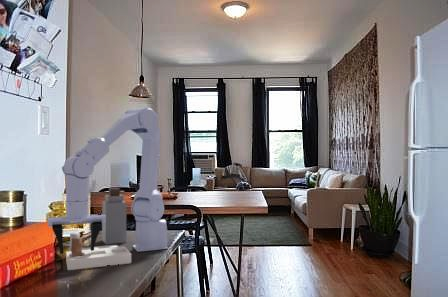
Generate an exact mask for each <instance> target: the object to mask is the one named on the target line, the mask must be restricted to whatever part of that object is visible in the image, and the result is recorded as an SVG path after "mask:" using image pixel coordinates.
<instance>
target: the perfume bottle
mask: <svg viewBox="0 0 448 297" xmlns="http://www.w3.org/2000/svg"><path fill="white" fill-rule="evenodd" d="M104 197H105V200H104V201H102V202H101V206H102V207H101V208H102V210H101V211H102V212H101V213H102V214H101V215H105V216H106V223H102V227H101V233H102V234H101V241H102V243H104V244H105V245H116V244H122V243H127V202H126V201H125V200H124V197H125V195H123V194H121V188H116V187H115V188H108V194H104Z"/></svg>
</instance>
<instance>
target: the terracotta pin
mask: <svg viewBox="0 0 448 297" xmlns="http://www.w3.org/2000/svg"><path fill="white" fill-rule="evenodd" d="M82 237H83V236H82ZM82 237H74V238H72V252H71V257H77V256H82V248H83V238H82Z"/></svg>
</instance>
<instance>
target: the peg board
mask: <svg viewBox="0 0 448 297" xmlns="http://www.w3.org/2000/svg"><path fill="white" fill-rule="evenodd" d="M71 252H72V251H69V250H68V251H66V252H65V258H66V259H65V262H66V268H67V271H75V270H81V269H91V268H98V267H108V266H107V265H110V266H118V264H119V265H126V264H132V253H131V252H130V251H129V249H128V248H127V247H126V246H125V245H124V246H123V245H121V246H119V247H110V248H100V249H94V251H91V249H89V250H82V256H77V257H71Z"/></svg>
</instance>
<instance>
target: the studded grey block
mask: <svg viewBox="0 0 448 297" xmlns="http://www.w3.org/2000/svg"><path fill="white" fill-rule="evenodd" d="M80 236H81V233H80V232H71V233H70V234H69V248H68V251H72V238H74V237H80ZM110 247H120V246H119V245H118V244H107V245H98V246H94V249H100V248H110ZM89 249H90V246H88V247H86V246H85V247H82V250H89Z"/></svg>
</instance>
